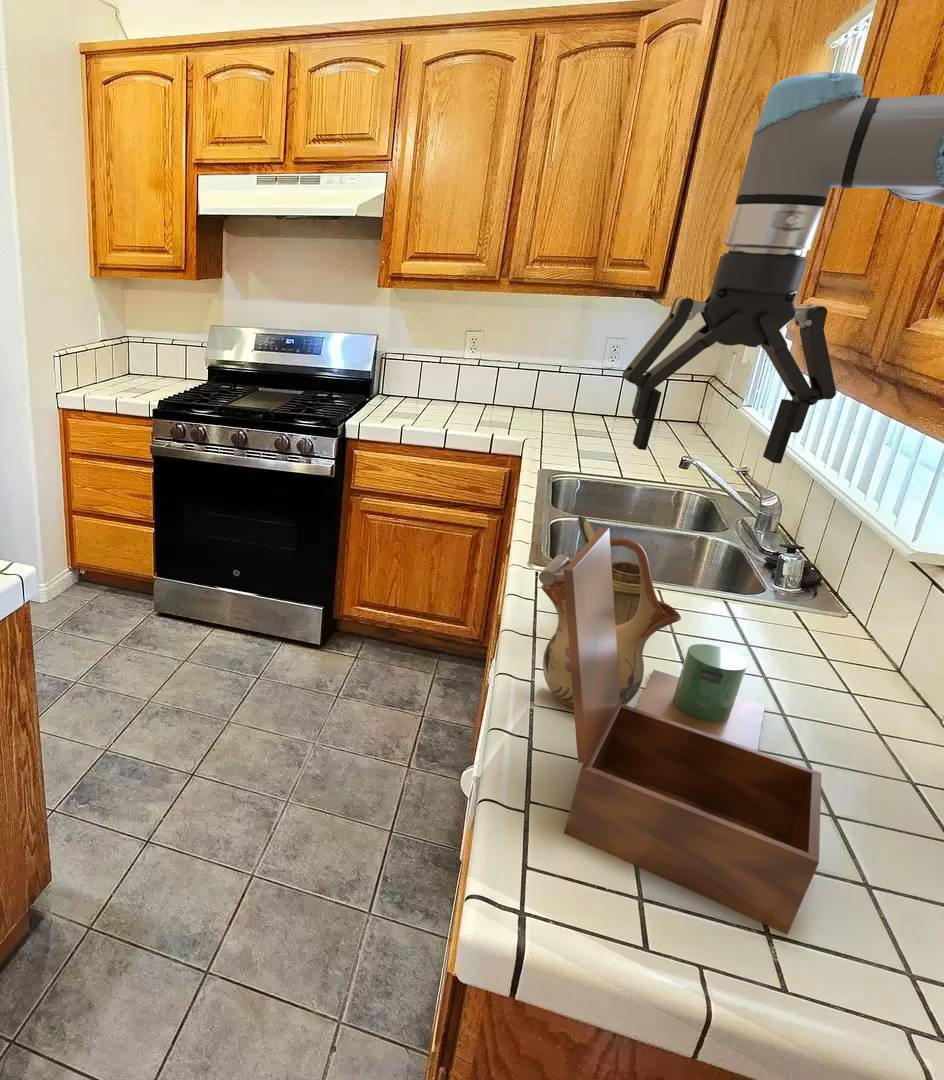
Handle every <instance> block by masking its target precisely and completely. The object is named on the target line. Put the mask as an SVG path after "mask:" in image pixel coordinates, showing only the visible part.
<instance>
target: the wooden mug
mask: <svg viewBox="0 0 944 1080" xmlns="http://www.w3.org/2000/svg"><path fill="white" fill-rule="evenodd" d="M577 522H578V528H579V534H580V536H581V537H582V541H583V542H584V545H586V544H587V543H588V542H589V541H590V540H591V539H592V538H593V536H594V535H595V534H596V533H597V531H596V529H595V527H594V526H593V524H592V523H591V522H590V521H588V519H586V518H585V517H583V516H582V515H579V516H578V517H577ZM611 563H612V579H613V595H614V611H615V625H620V624H624V623H626V622H628V621H630V620H631V619H633V618H634V616H635V615H636V613H637V611H638V607H639V603H640V596H641V577H640V569H639V563H636V562H635V563H634V562H630V561H614V562H613V559H612V558H611Z"/></svg>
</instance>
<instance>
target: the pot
mask: <svg viewBox="0 0 944 1080" xmlns="http://www.w3.org/2000/svg"><path fill="white" fill-rule="evenodd" d="M747 668H748V663H747V661H746V659H745V658H743V657H742V656H741V655H739V654H738V653H736V652H734V651H732V650H730V649H727V648H724V647H721V646H717V645H712V644H708V643H707V644H705V643H697V644H692V645H690V646H689V647H688V649H687V651H686V655H685V657H684V660H683V664H682V667H681V670H680V673H679V680H678V683H677V687H676V690H675V693H674V696H673V702H674V704H675V705H676V707H678V708H679V709H680V710H681V711H683V712H684V713H686V714H688V715H690V716H693V717H695V718H698V719H701V720H705V721H710V722H723V721H726V720H728V719H729V717H730V714H731V712H732V709H733V706H734V703H735V700H736V697H737V696H738V694H739V691H740V688H741V686H742V683H743V679H744V677H745V673H746V671H747Z"/></svg>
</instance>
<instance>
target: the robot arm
mask: <svg viewBox="0 0 944 1080" xmlns="http://www.w3.org/2000/svg"><path fill="white" fill-rule="evenodd" d="M864 83H865V81H864V78H863V76H861V75H860V74H857V73H853V72H844V71H843V72H841V71H840V72H839V71H838V72H812V73H804V74H803V73H802V74H797V75H793V76H789V77H786V78H783V79H781V80H779V81H778V82H776V83H775V84H774V85H773V86H772V87H771V88H770V89H769V91H768V93H767V96H766V99H765V102H764V104H763V107H762V111H761V113H760V116H759V119H758V122H757V125H756V129H754V131H753V133H752V139H751V143H750V148H749V151H748V155H747V158H746V163H745V166H744V169H743V170H744V171H743V174H742V179H741V182H740V185H739V188H738V189H739V190H738V194H737V197H736V199H735V202H734V203H735V205H734V208H733V210H732V213H731V217H730V221H729V224H728V227H727V231H726V234H725V237H724V241H723V245H724V246H725V247H728V252H723V253H722V255H720V256H719V259H718V264H717V267H716V270H715V274H714V277H713V281H712V285H711V288H710V293H709V294H708V296H707V298H706V299H705V300H704V301H702V300H701V301H700V300H695V299H692V298H691V297H687V296H678V297H676V298H675V299H674V301H673V303H672V305H671V308H670V311H669V314H668V316H667V317H666V319H665V320H664V321H663V323H662V324H661V325H660V326H659V328H658V329H657V330H656V331H655V332H654V333H653V335H652V336H651V337H650V339H648V341H647V342H646V343H645V345H644V346H643V347H642V348H641V350H640V351H639V352H638V353H637V354H636V356H635V357H634V358H633V359H632V360H631V362H630V363H629V364H628V366H627V367H626V368H625V369H624V370H623V371H622V375H621V376H622V378H623V379H624V380H626V381H627V382H628V383H631V384H633V385H635V386H636V394H635V396H634V397H635V398H634V402H633V406H632V409H631V413H632V416H633V418H636V419H638V422H637V426H636V429H635V433H634V437H633V441H632V444H633V446H634V447H635V448H637V449H638V450H640V451H641V450H642V451H647V448H648V444H649V441H650V437H651V434H652V429H653V426H654V423H655V418H656V414H657V411H658V407H659V403H660V400H661V397H662V391H659V390H658V388H657V387H658V386H659V385H661V384H662V383H663V382H665V381H666V380H667V379H669V378H670V377H671V376H672V375H674V374H675V373H676V372H677V371H678V370H680V369H681V368H683V367H684V366H685V365H686V364H688V363H689V362H690V361H692V360H693V359H694V358H695V357H696V356H698V355H699V354H701V353H702V352H703V351H704V350H706V349H708V348H710V347H712V346H713V345H714V344H716V343H717V344H719V345H724V346H738V345H742V346H745V347H748V348H758V346H760V347H761V348H762V349H763V351H764V352H765V353H766V355H767V356H768V358H769V360H770V361H771V364H772V365H773V367H774V369H775V370H776V372H777V374H778V376H779V377H780V379H781V380H782V383H783V385H784V386H785V388H786V389H787V392H788V393H789V395H790V397H791V399H784V398H781V401H780V403H779V405H778V409H777V412H776V415H775V419H774V421H773V424H772V428H771V430H770V434H769V436H768V439H767V443H766V445H765V448H764V451H763V454H762V457H763V458H765V459H766V460H767V461H769V462H771V463H772V464H779V465H780V464H782V462H783V458H784V456H785V452H786V449H787V447H788V443H789V441H790V437H791V434H792V433H795V434H798V433H799V432H801V430H802V429H803V426H804V423H805V420H806V418H807V416H808V412H809V409H810V406H814V405H815V404H817V403H818V402H819V401H822V400H832V399H834V398H835V397H836V395H837V389H836V384H835V379H834V374H833V368H832V364H831V359H830V354H829V349H828V344H827V343H828V342H827V340H826V333H825V325H826V322H827V321H826V320H827V316H828V309H827V307H826V306H824V305H823V306H822V305H816V304H807V305H806V306H797V307H795V299H796V295H797V293H798V291H799V288H800V285H801V282H802V279H803V276H804V272H805V269H806V266H807V263H808V260H806V259H807V258H806V256H802V255H803V252H804V251H808V250H810V249H811V248H812V247H813V243H814V240H815V237H816V235H817V232H818V229H819V225H820V222H821V218H822V215H823V214H824V210H825V206H826V204H827V200H828V196H829V193H831V190H832V189H833V188H834V189H835V188H838V189H839V188H841V189H886V190H887V191H888V193H890V195H893V196H894V197H896V198H899V199H903V200H906V201H908V202H913V203H914V202H915V203H919V202H922V203H927V204H930V205H933V206H936V207H940V208H944V93H940V94H924V95H911V96H910V95H909V96H895V97H894V96H893V97H872V96H864V91H863V90H864V89H863V88H864ZM697 314H700V315H701V317H702V319H703V321H704V323H705V324H704V325H702V326H701V327H700V328H699V329H697V330H696V331H695V332H694V333H693V334H691V336H690V338H689V339H687V340H686V341H684V343H682V344H681V345H679V346H678V347H677V348H676V349H674V350H673V351H672V352H671V353H669V354H667V356H665V357H664V358H663V359H662V360H661V361H659V362H658V363H657V364H656V365H654V366H653V367H652V368H651V366H652V365H653V364H654V363H655V361H657V359H658V358H659V356H661V354H662V353H663V352H664V350H665V349H666V348H667V347H668V346H669V345H670V344H671V342H672V341H673V340H674V339H675V337H676V336H677V335H678V334H679V333H680V331H681V330H682V329H683V327H684V326H685V325H686V323H687V321H691V320H693V319H694V318H695V317H696V315H697ZM792 320H794V324H795V326H796V327H797V328H799V336H800V342H801V346H802V351H803V355H804V360H805V365H806V371H807V375H808V380H809V383H808V381H807V380H806V378H805V376H804V374H803V372H802V370H801V369H800V367H799V365H798V364H797V362H796V360H795V358H794V356H793V355H792V353H791V351H790V350H789V348H788V342H787V341H786V339H785V337H784V335H783V334H782V332H781V330H782V329H783V328H784V327H786V326H787V325H788V324H789V323H790V322H791V321H792ZM649 369H650V370H649ZM809 384H810V385H809ZM656 388H657V389H656Z"/></svg>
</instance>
